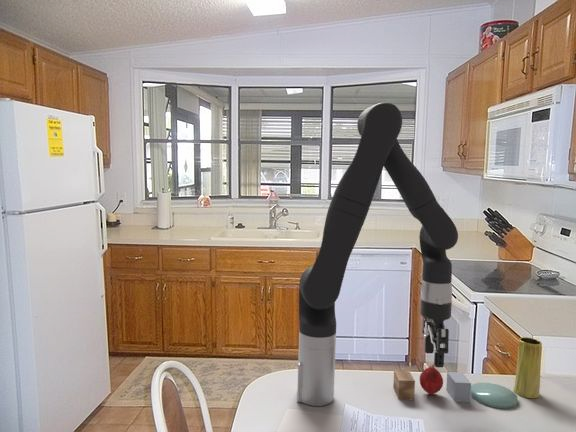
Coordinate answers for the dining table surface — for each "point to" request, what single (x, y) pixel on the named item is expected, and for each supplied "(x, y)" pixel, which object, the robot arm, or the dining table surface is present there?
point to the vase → (528, 368)
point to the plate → (493, 395)
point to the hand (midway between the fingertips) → (433, 359)
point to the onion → (431, 380)
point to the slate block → (458, 387)
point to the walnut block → (404, 384)
